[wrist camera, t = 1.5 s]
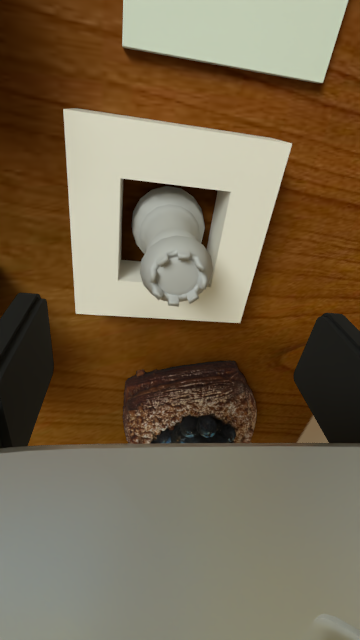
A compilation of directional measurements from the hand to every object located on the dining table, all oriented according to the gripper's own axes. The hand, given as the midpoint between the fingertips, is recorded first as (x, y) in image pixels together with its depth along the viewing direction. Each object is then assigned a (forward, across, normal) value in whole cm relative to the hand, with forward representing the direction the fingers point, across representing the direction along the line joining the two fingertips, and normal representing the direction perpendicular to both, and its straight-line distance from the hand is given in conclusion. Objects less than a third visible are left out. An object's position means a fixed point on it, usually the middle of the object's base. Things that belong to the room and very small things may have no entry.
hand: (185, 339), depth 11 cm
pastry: (+12, -4, +16) cm, 20 cm away
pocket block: (+11, 0, -1) cm, 11 cm away
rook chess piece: (+11, 0, -1) cm, 11 cm away
